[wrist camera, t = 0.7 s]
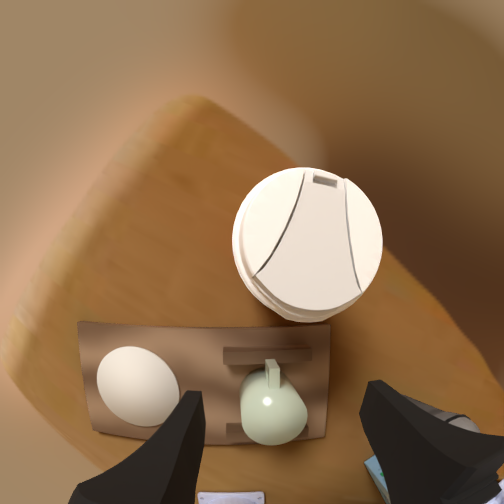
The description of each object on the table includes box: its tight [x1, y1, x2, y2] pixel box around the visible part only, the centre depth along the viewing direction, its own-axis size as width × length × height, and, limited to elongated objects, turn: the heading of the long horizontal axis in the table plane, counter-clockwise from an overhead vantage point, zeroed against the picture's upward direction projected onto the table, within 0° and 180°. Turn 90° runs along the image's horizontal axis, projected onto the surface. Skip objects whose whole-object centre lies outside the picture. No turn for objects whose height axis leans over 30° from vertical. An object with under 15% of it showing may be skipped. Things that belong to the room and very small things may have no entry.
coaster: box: [97, 346, 180, 427], centre depth 25 cm, size 9×9×1 cm
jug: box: [239, 359, 307, 445], centre depth 23 cm, size 7×5×6 cm
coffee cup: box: [232, 168, 382, 323], centre depth 21 cm, size 8×8×15 cm
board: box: [77, 321, 331, 445], centre depth 25 cm, size 13×26×3 cm, turn 91°
